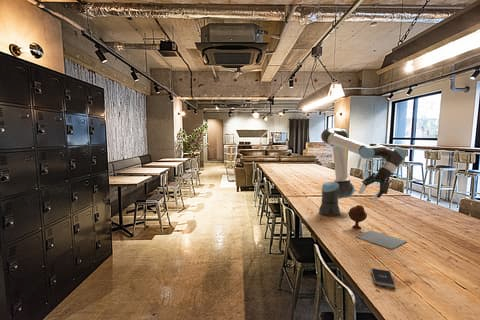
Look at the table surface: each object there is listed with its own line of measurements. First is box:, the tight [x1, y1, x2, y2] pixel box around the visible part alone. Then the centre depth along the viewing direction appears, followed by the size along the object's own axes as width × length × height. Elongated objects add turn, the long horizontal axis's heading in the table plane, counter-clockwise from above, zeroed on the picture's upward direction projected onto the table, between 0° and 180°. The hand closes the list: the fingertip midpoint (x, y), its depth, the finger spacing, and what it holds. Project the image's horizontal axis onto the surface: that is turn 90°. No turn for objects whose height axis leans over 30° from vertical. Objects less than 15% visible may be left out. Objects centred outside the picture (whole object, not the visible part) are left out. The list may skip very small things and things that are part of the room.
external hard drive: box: [371, 268, 396, 290], centre depth 103 cm, size 7×11×2 cm, turn 160°
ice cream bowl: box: [347, 204, 368, 231], centre depth 161 cm, size 11×11×15 cm
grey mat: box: [354, 229, 408, 251], centre depth 143 cm, size 20×17×1 cm
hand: (366, 197), depth 161 cm, fingers open, 13 cm apart
